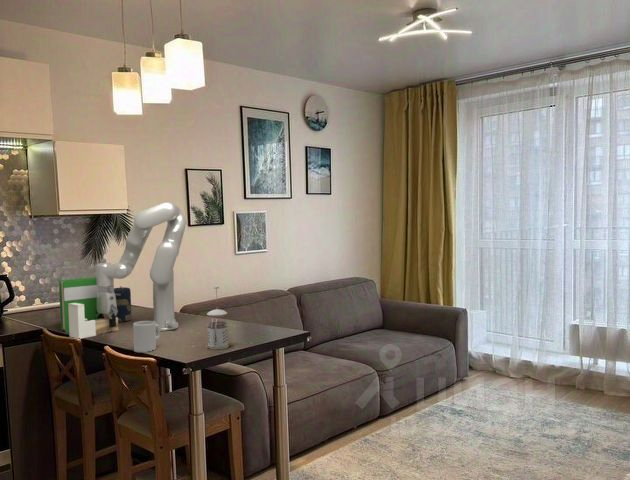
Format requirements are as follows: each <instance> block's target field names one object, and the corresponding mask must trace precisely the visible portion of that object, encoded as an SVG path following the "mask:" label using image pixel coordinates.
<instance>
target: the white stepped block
mask: <svg viewBox="0 0 630 480" xmlns="http://www.w3.org/2000/svg"><path fill="white" fill-rule="evenodd" d="M68 310H69V332H68V333H69V338H72V337H75V338H74V339H77V338H80V339H85V338H90V337H95V336H97V335H96V327H95V320H91V321H85V320H87V319H85V314H84V304H79V303H70V304H68ZM80 339H79V340H80Z"/></svg>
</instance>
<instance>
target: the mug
mask: <svg viewBox="0 0 630 480" xmlns="http://www.w3.org/2000/svg"><path fill="white" fill-rule="evenodd" d="M132 328H133V331H132V332H133V352H135V353H141V352H142V353H149V352H148V351H151V352H153V351H152V350H154V351H156V350H157V341H158V340H159V339H160V336H161V331H160V328H159V325H157V324H155V322H154V320H140V321H135V322H133V323H132ZM155 328H156V329H157V331H156V330H155ZM155 349H156V350H155Z"/></svg>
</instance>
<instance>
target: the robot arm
mask: <svg viewBox="0 0 630 480" xmlns="http://www.w3.org/2000/svg"><path fill="white" fill-rule="evenodd" d="M166 222H167V224H166V228H165V230H164V235H163V239H162V242H160V243H159V245H158V246H157V248H156V250H155V254H154V257H153V260H152V264H151V267H150V270H149V278H150V280H151V281H152V304H153V305H152V307H153V308H152V309H153V321H154V322H155V324H157V325H159V328H160V332H165V331H172V330H176V329H178V328H179V321H178V322H177V320H176V318H175V290H174V287H175V286H174V285H175V284H174V283H175V281H174V279H175V275H174V274H175V272H174V267H175V263H176V259H177V257H178V256H179V254H180V249H181V245H182V241H183V239H184V238H183V237H184V233H185V230H186V224H187V223H186V218H185V214H184V212H183V210H181V208H180V207H179V206H177V205H176V204H175V203H173V202H169V201H165V202H161V203H159V204H157V205H154V206H152V207H148V208H146V209H144V210H141V211H139V212H137V213H136V214H135V216H134V218H133V225H132V227H131V229H130V231H129V233H128V235H127V237H126V239H125V246H124V250H123V254H122V255H121V257H120V259H119V261H118V262H117V263H111V262H101V263H97V264H96V265H95V275H96V276H95V277H96V282H97V306H95V310H96V314H97V320H98V319H103V318H105V315H107V316H108V318H110V319H109V327H110V328H111V327H116V316H117V312H118V309H117V305H116V297H115V293H114V288H115V284H114V283H115V281H114V279H116V280H117V279H118V280H122V279H125V278H127V277H129V276H130V275H131V274H132V272H133V271H134V269H135V266H136V264H137V262H138V260H139V258H140V255H141V253H142V251H143V249H144V246H145V244H146V243H147V240H148V238H149V236H150V234H151V232H152V230H153V228H154V227H156V226H159V225H161V224H164V223H166ZM155 330H156V332H157V329H156V328H155Z"/></svg>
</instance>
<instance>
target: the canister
mask: <svg viewBox="0 0 630 480" xmlns="http://www.w3.org/2000/svg"><path fill="white" fill-rule="evenodd" d="M114 293H115V297H116V305H117V309H118V312H117V316H116V317H117V318H118V323H120V322H121V323H122V322H129V321H131V320H132V318H133V317H132V297H131V296H132V295H131V288H130V287H122V285H121V286H119V287H114Z"/></svg>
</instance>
